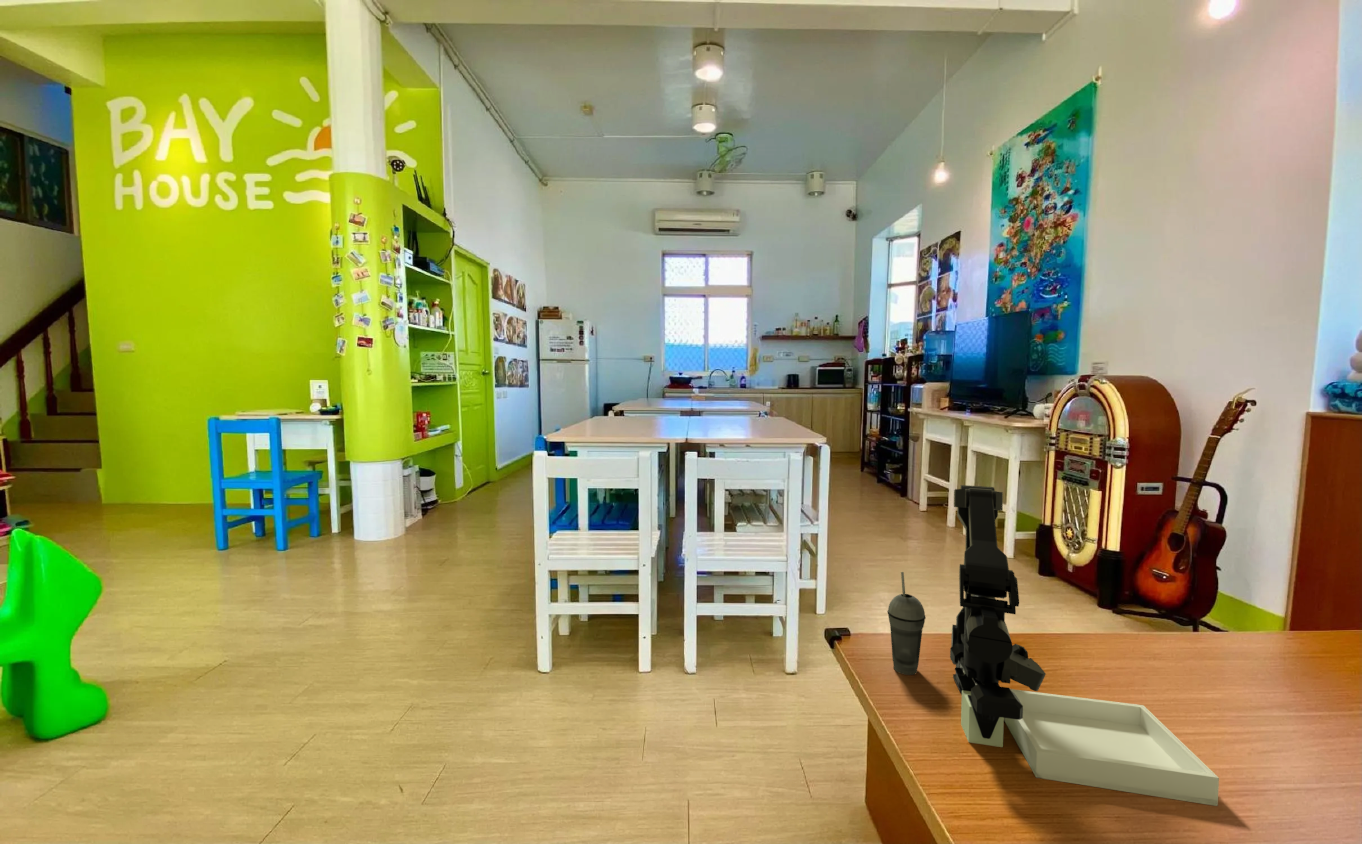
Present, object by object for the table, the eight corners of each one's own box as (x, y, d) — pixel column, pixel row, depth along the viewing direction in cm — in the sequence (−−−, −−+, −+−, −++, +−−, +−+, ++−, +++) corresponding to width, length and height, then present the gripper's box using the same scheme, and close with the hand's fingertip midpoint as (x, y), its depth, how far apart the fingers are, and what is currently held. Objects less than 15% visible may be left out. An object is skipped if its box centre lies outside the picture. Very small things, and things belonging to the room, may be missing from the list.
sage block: (968, 742, 88) (969, 706, 88) (960, 724, 93) (961, 690, 92) (1002, 747, 87) (1003, 711, 86) (993, 729, 91) (994, 694, 91)
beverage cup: (907, 682, 106) (909, 582, 105) (878, 665, 113) (880, 571, 112) (932, 673, 110) (934, 576, 109) (902, 657, 116) (904, 566, 115)
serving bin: (1036, 777, 80) (1037, 751, 79) (997, 709, 97) (998, 687, 97) (1217, 806, 74) (1219, 778, 74) (1142, 728, 91) (1143, 705, 91)
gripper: (1064, 670, 78) (1061, 774, 78) (1019, 618, 96) (1016, 704, 97) (979, 660, 81) (976, 761, 81) (950, 612, 99) (948, 695, 99)
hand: (981, 728), depth 90 cm, fingers closed on sage block, 5 cm apart
